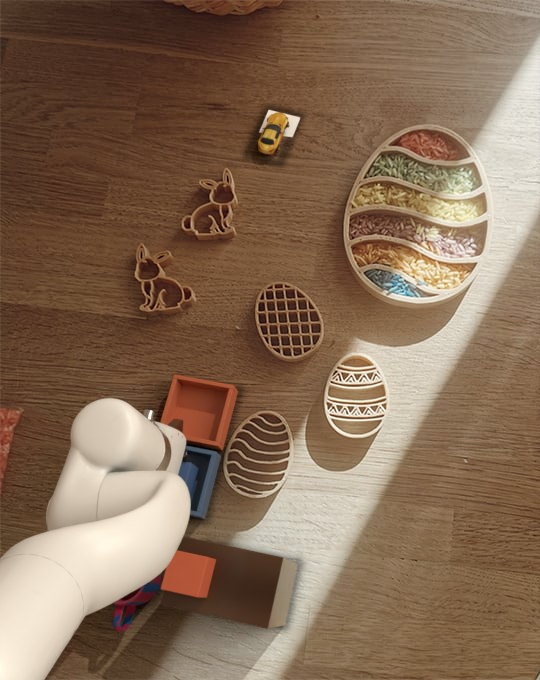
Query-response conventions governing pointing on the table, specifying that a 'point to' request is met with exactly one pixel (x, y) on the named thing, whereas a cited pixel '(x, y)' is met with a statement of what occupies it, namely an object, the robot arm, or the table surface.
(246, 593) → the stand
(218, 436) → the terracotta bin
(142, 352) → the table surface
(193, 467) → the blue cube
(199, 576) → the terracotta block
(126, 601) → the mug
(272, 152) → the toy car
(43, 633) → the robot arm
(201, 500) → the slate bin
